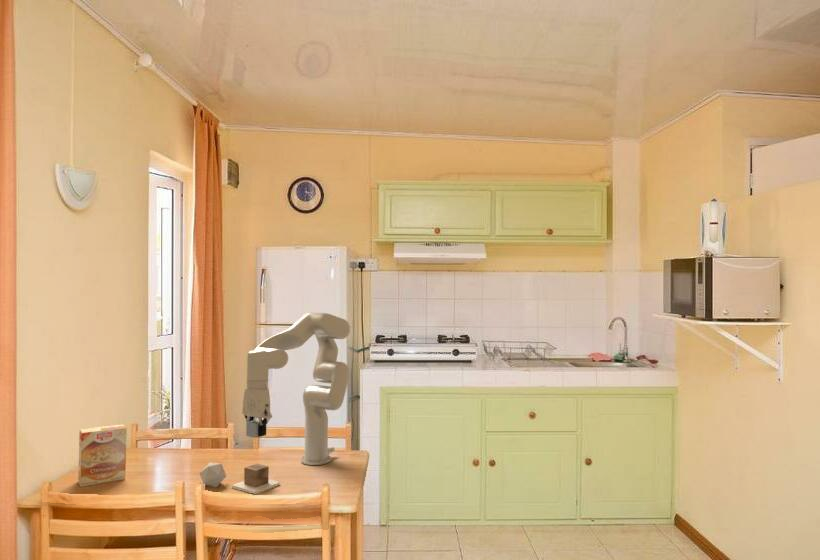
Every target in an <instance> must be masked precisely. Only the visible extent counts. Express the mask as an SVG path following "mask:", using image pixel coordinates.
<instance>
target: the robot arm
mask: <svg viewBox="0 0 820 560" xmlns="http://www.w3.org/2000/svg"><path fill="white" fill-rule="evenodd" d="M350 332H351V325H350V323H349V322H348V321H347V320H346V319H344V318H342V317H339V316H336V315H333V314H330V313H326V312H308V313H306V314H304V315H303V316H301V317H300V318H299V319H298V320H297V321H296V322H295V323H293V324H292V325H291V326H290V327H289V328H288V329H286V330H283V331H282V332H279V333H277V334H275V335H272V336H270V337H268V338H266V339H265V340H264V341H262V342H261V343H260V344H259V345H258V346H257V347H256V348H254V349H253V350H250V351H248V353H247V355H246V356H247V359H246V361H247V363H246V364H247V365H246V368H247V369H246V387H245V389H244V394H243V399H242V411H241V413H242V415H243V416H244V418H245V422H246V423H247V422H249V421H253V420H256V418H257V419H258V420H259V424H260V425H258V436H259V437H258V438H260V436H261V437H264V435H265V436H267V427H266V424H267V425H268V423H269V421H270V420H271V419H272V418H273V414H272V412H271V395H270V389H269V370H272V369H273V370H274V369H275V370H279V369H282V368H284V367H285V366H286V365H287V364H288V361H289V355H288V353H287V352H286V351H290V350H294V349H298V348H299V347H300V348H301V347H302V346H303V345H304V344H305V343H306V342H308V340H310V338H311V337H313V336H314V335H315V338H316V340H317V344H318V351H317V355H316V359H315V363H314V367H313V370H312V377H313V380H314V381H316V382H318V383H320V384H311V385H309V386H307V387H306V388H305V389H304V390H303V393H302V403H303V407H304V456H302V457H301V458H300V463H302V464H304V465H307V466H323V465H325V464H329V463H330V462H331V461H332V457H331V456H330V454H331V453H334V452H335V449H336V448H335V447H328V446H329V445H328V444H329V437H328V436H329V417H328V413H327V411H337V410H339V409H340V408H341V407H342V405H343V403H344V400H345V397H346V396H345V395H346V392H347V388H348V384H349V380H350V379H349V378H350V369H349V365H348V364H346V363H345V362H343V361H339V360H338V355H339V348H338V345H337V342H336V340H344V339H346V338H347V337H348V336H349V335H350ZM337 360H338V361H337ZM321 383H322V384H330V385H329V386H328V385H321Z"/></svg>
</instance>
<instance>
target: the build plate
mask: <svg viewBox="0 0 820 560" xmlns="http://www.w3.org/2000/svg"><path fill="white" fill-rule="evenodd" d="M278 485H279V486H281V482H280V481H277V480H273V479H271V478H270V479H269V478H268V483H267V484H264V485H261V486H259V487H256V488H255V487H252V486H248V485H245V484H244V480H242V481H240V482H237V483H234V484H232V485H231V488H232V489H235V490H237V491H241V490H242V492H244V491H246V492H245V493H247V492H249V494H251V493H253V494H252V495H254V494H255V495H258V494H260V493H263V492H265V491H264V490H266V491H268V490H270V489H269V488H271V489H273V488H276V487H279V486H278ZM275 486H276V487H275ZM272 487H273V488H272ZM267 489H268V490H267Z"/></svg>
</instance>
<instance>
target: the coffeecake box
mask: <svg viewBox="0 0 820 560" xmlns="http://www.w3.org/2000/svg"><path fill="white" fill-rule="evenodd" d="M78 433H79V435H78V436H79V438H78V439H79V440H78V441H79V444H78V445H79V446H78V475H77V478H78V479H77V481H78V484H79V487H80V488H81V487H87V486H92V485H98V484H105V483H109V482H116V481H121V480H126V472H127V471H126V464H127V462H126V461H127V460H126V459H127V427H126V425H125V424H124V423H123V424H114V425H107V426H106V425H103V426H96V427H89V428H80V429H79V432H78Z"/></svg>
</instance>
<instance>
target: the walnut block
mask: <svg viewBox="0 0 820 560" xmlns="http://www.w3.org/2000/svg"><path fill="white" fill-rule="evenodd" d="M269 469H270V468H269V466H268V465H264V464H262V463H261V464H260V463H255V464H250V465H248V466H246V467H244V472H243V475H244V477H243V479H244V480H243V481H244V484H245V485H248V486H252V487H255V488H256V487H259V486H261V485H264V484H267V483H268V479H269V471H270V470H269Z"/></svg>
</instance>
